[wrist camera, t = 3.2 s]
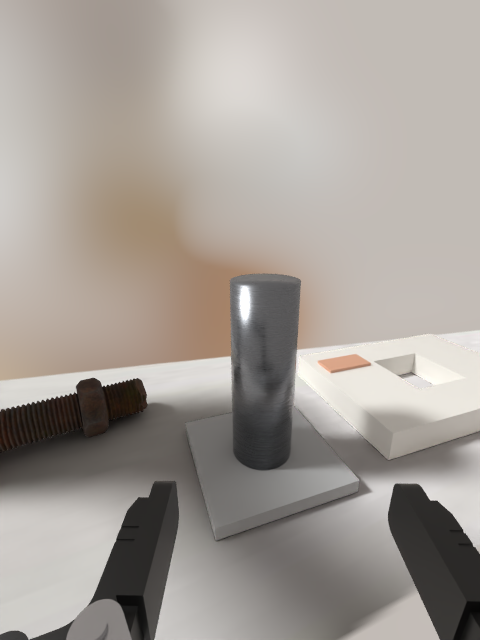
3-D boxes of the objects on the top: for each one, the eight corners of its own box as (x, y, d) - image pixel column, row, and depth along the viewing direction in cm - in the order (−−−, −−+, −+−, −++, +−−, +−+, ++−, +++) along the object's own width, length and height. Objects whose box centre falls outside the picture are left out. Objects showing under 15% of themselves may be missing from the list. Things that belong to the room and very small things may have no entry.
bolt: (148, 431, 30) (-59, 498, 22) (135, 387, 33) (-53, 434, 25) (154, 400, 26) (-95, 469, 18) (138, 354, 29) (-84, 398, 21)
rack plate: (388, 460, 24) (394, 430, 23) (297, 375, 36) (299, 353, 35) (552, 407, 30) (562, 382, 29) (426, 350, 42) (430, 331, 41)
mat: (215, 540, 18) (215, 528, 18) (186, 432, 27) (185, 422, 26) (357, 491, 21) (359, 480, 21) (288, 408, 30) (289, 400, 30)
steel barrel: (222, 458, 23) (217, 284, 18) (247, 423, 26) (247, 271, 22) (279, 479, 21) (288, 291, 17) (297, 438, 25) (308, 276, 20)
